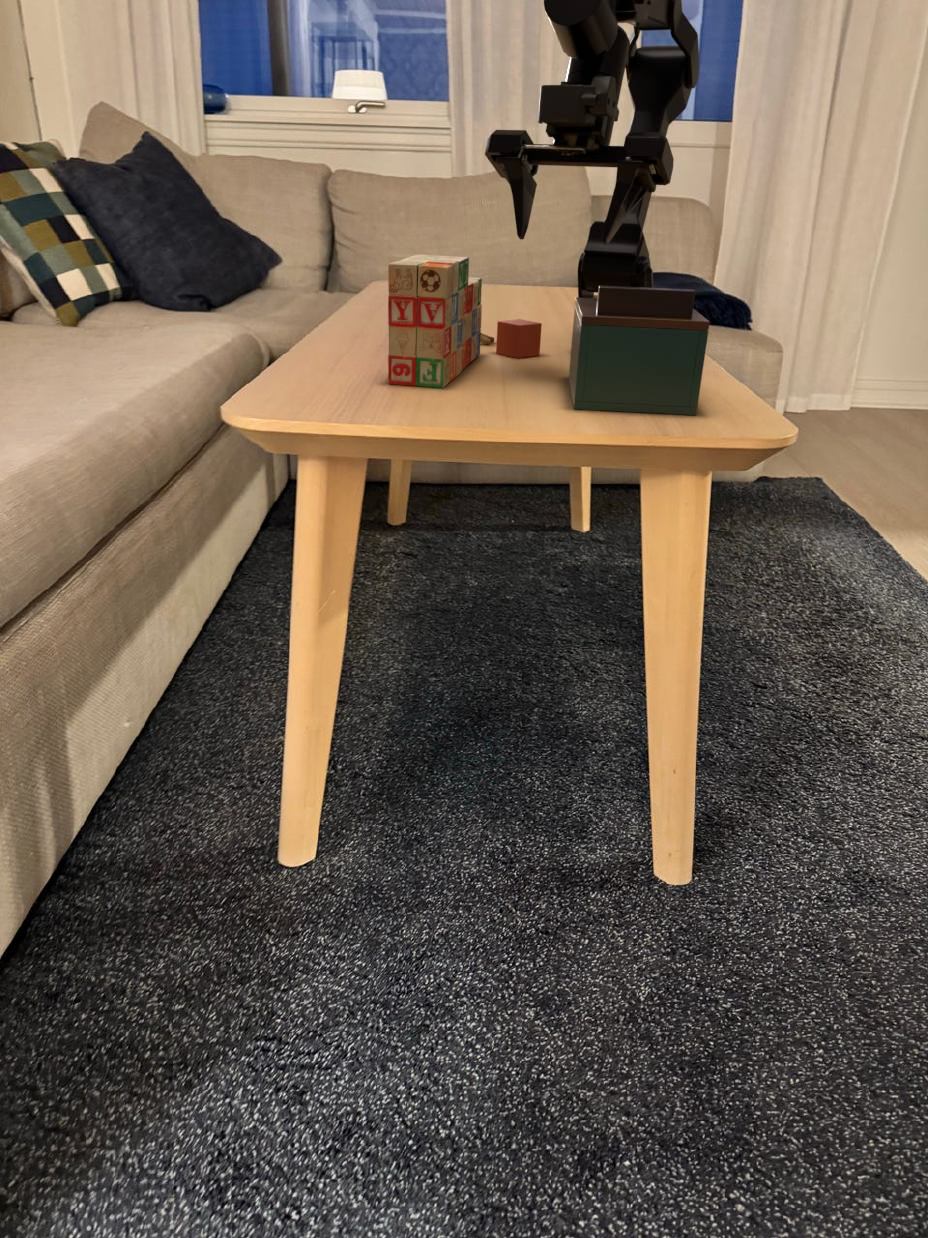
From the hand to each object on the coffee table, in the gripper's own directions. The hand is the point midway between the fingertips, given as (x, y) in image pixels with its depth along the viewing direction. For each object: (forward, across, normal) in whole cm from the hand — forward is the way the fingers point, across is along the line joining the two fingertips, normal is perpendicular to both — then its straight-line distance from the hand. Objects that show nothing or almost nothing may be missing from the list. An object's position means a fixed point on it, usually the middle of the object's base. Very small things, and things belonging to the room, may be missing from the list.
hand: (561, 240), depth 94 cm
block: (+7, -10, +20) cm, 24 cm away
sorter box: (+14, +9, +5) cm, 17 cm away
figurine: (+6, -23, +25) cm, 34 cm away
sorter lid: (+7, +9, +2) cm, 11 cm away
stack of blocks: (+13, -14, +7) cm, 21 cm away
